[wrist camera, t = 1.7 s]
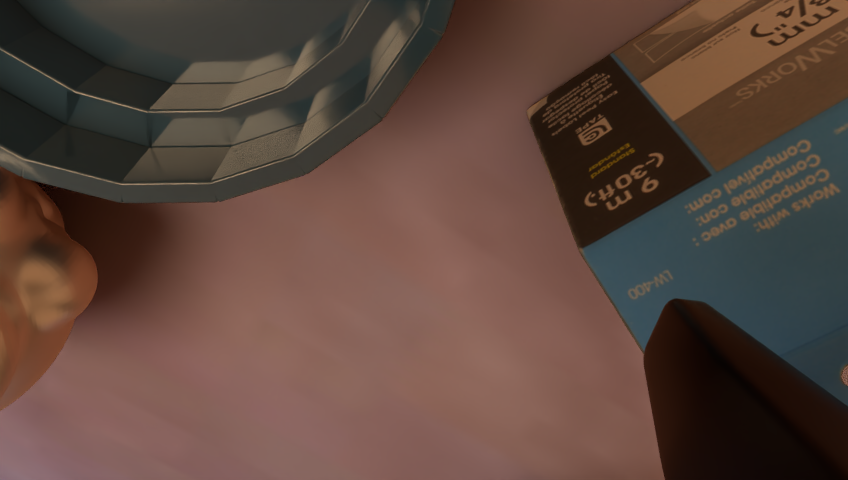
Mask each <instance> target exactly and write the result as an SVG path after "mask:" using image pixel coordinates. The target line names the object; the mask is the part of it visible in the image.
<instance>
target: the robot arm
mask: <svg viewBox="0 0 848 480" xmlns="http://www.w3.org/2000/svg"><path fill="white" fill-rule="evenodd" d="M644 369H645V374H646V380H647V386H648V391H649V397H650V403H651V408H652V414H653V419H654V425H655V431H656V436H657V442H658V447H659V453H660V458H661V463H662V468H663V473H664V477H665V480H848V406H847V405H846V404H844V403H843V402H841V401H840V400H839V399H837V398H836V397H835V396H833V395H832V394H830V393H829V392H828V391H826V390H825V389H824V388H822V387H821V386H820V385H818V384H817V383H815V382H814V381H813V380H811V379H810V378H809V377H807V376H806V375H804V374H803V373H802V372H800V371H799V370H798V369H796V368H795V367H793V366H792V365H791V364H789V363H788V362H787V361H785V360H784V359H783V358H781V357H780V356H778V355H777V354H776V353H774V352H773V351H772V350H770V349H769V348H767V347H766V346H765V345H763V344H762V343H761V342H759V341H758V340H756V339H755V338H754V337H752V336H751V335H750V334H748V333H747V332H746V331H744V330H743V329H741V328H740V327H739V326H737V325H736V324H735V323H733V322H732V321H730V320H729V319H728V318H726V317H725V316H724V315H722V314H721V313H719V312H718V311H717V310H715V309H714V308H713V307H711V306H710V305H709V304H707V303H705V302H702V301H697V300H688V299H678V298H674V299H672V300H670V301H668V302H667V303H666V304H665V306H664V308H663V310H662V312H661V314H660V316H659V318H658V321H657V323H656V325H655V327H654V329H653V331H652V334H651V336H650V338H649V340H648V342H647V345H646V347H645V351H644Z"/></svg>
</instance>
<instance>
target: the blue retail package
mask: <svg viewBox="0 0 848 480" xmlns="http://www.w3.org/2000/svg"><path fill="white" fill-rule="evenodd" d="M526 113H527V116H528V119H529V122H530V125H531V127H532V129H533V132H534V135H535V137H536V140H537V143H538V145H539V148H540V151H541V154H542V156H543V158H544V161H545V164H546V166H547V169H548V171H549V174H550V177H551V180H552V183H553V185H554V187H555V189H556V192H557V195H558V198H559V200H560V203H561V205H562V208H563V211H564V214H565V216H566V219H567V222H568V224H569V226H570V229H571V232H572V235H573V237H574V240H575V242H576V244H577V247H578V249H579V252H580V254H581V255H582V257H583V259H584V260H585V262H586V263H587V265H588V267H589V268H590V270H591V272H592V273H593V275H594V276H595V278H596V280H597V281H598V283H599V284H600V286H601V287H602V289H603V290H604V292H605V294H606V295H607V297H608V298H609V300H610V302H611V303H612V305H613V306H614V308H615V310H616V311H617V313H618V314H619V316H620V318H621V319H622V321H623V323H624V324H625V326H626V327H627V329H628V331H629V332H630V334H631V335H632V337H633V338H634V340H635V341H636V343H637V345H638V346H639V348H640V349H641V351H642V352H643V354H644V351H645V347H646V345H647V342H648V340H649V338H650V336H651V334H652V331H653V329H654V327H655V325H656V323H657V321H658V318H659V316H660V314H661V312H662V310H663V308H664V306H665V304H666V303H667V302H668V301H670V300H672V299H674V298H678V299H688V300H697V301H702V302H705V303H707V304H709V305H710V306H711V307H713V308H714V309H715V310H717V311H718V312H719V313H721V314H722V315H724V316H725V317H726V318H728V319H729V320H730V321H732V322H733V323H735V324H736V325H737V326H739V327H740V328H741V329H743V330H744V331H746V332H747V333H748V334H750V335H751V336H752V337H754V338H755V339H756V340H758V341H759V342H761V343H762V344H763V345H765V346H766V347H767V348H769V349H770V350H772V351H773V352H774V353H776V354H777V355H778V356H780V357H781V358H783V359H784V360H785V361H787V362H788V363H789V364H791V365H792V366H793V367H795V368H796V369H798V370H799V371H800V372H802V373H803V374H804V375H806V376H807V377H809V378H810V379H811V380H813V381H814V382H815V383H817V384H818V385H820V386H821V387H822V388H824V389H825V390H826V391H828V392H829V393H830V394H832V395H833V396H835V397H836V398H837V399H839V400H840V401H841V402H843V403H844V404H846V405H847V406H848V386H847V385H845V384H844V383H843V380H842V377H841V376H842V372H843V370H844V369H845V367H846V366H847V365H848V0H693V1H692V2H690V3H689V4H687V5H686V6H684V7H683V8H681V9H680V10H678V11H676V12H675V13H673V14H672V15H670V16H669V17H667V18H666V19H664V20H663V21H661V22H660V23H658V24H656V25H655V26H653V27H652V28H650V29H649V30H647V31H645V32H644V33H642V34H641V35H639V36H638V37H636V38H635V39H633V40H632V41H630V42H629V43H627V44H625V45H624V46H622V47H621V48H619V49H618V50H616V51H614V52H613V53H611V54H610V55H608V56H607V57H605V58H604V59H602V60H601V61H599V62H598V63H596V64H595V65H593V66H591V67H590V68H588V69H587V70H585V71H584V72H582V73H581V74H579V75H578V76H576V77H575V78H573V79H572V80H570V81H569V82H567V83H566V84H564V85H563V86H561V87H559V88H558V89H556V90H555V91H553V92H552V93H551V94H549V95H548V96H546V97H545V98H543V99H542V100H540V101H539V102H537V103H536V104H534V105H533V106H531V107H530V108H529V109H528V110H527V112H526Z"/></svg>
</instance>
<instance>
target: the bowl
mask: <svg viewBox="0 0 848 480" xmlns="http://www.w3.org/2000/svg"><path fill="white" fill-rule="evenodd" d="M455 1H456V0H0V167H2V168H4V169H6V170H8V171H10V172H12V173H14V174H16V175H18V176H22V177H23V178H24V179H28V180H32V181H36V182H40V183H44V184H48V185H52V186H56V187H60V188H64V189H68V190H71V191H75V192H79V193H83V194H87V195H91V196H95V197H99V198H103V199H107V200H111V201H115V202H119V203H197V202H218V201H219V202H221V201H224V200H227V199H230V198H234V197H237V196H240V195H243V194H246V193H250V192H253V191H256V190H259V189H262V188H265V187H269V186H272V185H275V184H278V183H281V182H285V181H288V180H291V179H294V178H297V177H300V176H304V175H305V174H308V173H310V172H311V171H313V170H314V169H315V168H317V167H318V166H319V165H321V164H322V163H324V162H325V161H326V160H328V159H329V158H331V157H332V156H333V155H335V154H336V153H338V152H339V151H340V150H342V149H343V148H345V147H346V146H347V145H349V144H350V143H351V142H353V141H354V140H356V139H357V138H358V137H360V136H361V135H363V134H364V133H365V132H367V131H368V130H370V129H371V128H372V127H374V126H375V125H377V124H378V123H379V122H381V121H382V120H383V118H384V117H385V116H386V115H387V114H388V112H389V111H390V109H391V108H392V107H393V105H394V104H395V103H396V101H397V100H398V98H399V97H400V96H401V94H402V93H403V91H404V90H405V89H406V87H407V86H408V84H409V83H410V82H411V80H412V79H413V78H414V76H415V75H416V73H417V72H418V71H419V69H420V68H421V66H422V65H423V64H424V62H425V61H426V59H427V58H428V57H429V55H430V54H431V53H432V51H433V50H434V48H435V47H436V46H437V44H438V43H439V41H440V40H441V39H442V37H443V34H444V33H445V31H446V28H447V25H448V22H449V19H450V16H451V13H452V10H453V7H454V4H455Z"/></svg>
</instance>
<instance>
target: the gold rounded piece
mask: <svg viewBox="0 0 848 480" xmlns="http://www.w3.org/2000/svg"><path fill="white" fill-rule="evenodd" d="M97 283H98V273H97V267H96V264H95V262H94V260H93V257H92V256H91V254H90V253H89V252H88V251H87V250H86V249H85V248H84V247H83V246H82V245H80V244H79V243H77V242H76V241H74V240H72V239H71V238H70V237H69V235H68V234H67V233H66V232H65V228H64V222H63V218H62V215H61V213H60V211H59V209H58V207H57V206H56V204H55V203H54V202H53V201H52V199H51V198H50V197H49V196H48V195H47V194H46V193H45V192H44V191H43V190H42V189H41V187H40V186H38V185H37V184H36V183H35V182H34V181H32V180H28V179H24V178H23V177H22V176H18V175H16V174H14V173H12V172H10V171H8V170H6V169H4V168H2V167H0V411H1V410H3V409H4V408H6V407H7V406H9V405H10V404H11V403H13V402H14V401H15V400H17V399H18V398H19V397H21V396H22V395H23V394H24V393H25V392H26V391H28V390H29V389H30V388H31V387H32V386H33V385H34V384H35V383H36V382H37V381H38V380H39V379H40V378H41V377H42V376H43V374H44V373H45V372H46V371H47V370H48V368H49V367H50V366H51V364H52V363H53V362H54V360H55V359H56V357H57V356H58V354H59V353H60V351H61V349H62V348H63V346H64V344H65V342H66V340H67V338H68V336H69V334H70V332H71V329H72V327H73V324H74V321H75V318H76V317H77V316H78V315H80V314H81V313H82V312H83V311H84V310H85V309H86V308H87V306H88V305H89V303H90V302H91V300H92V299H93V296H94V294H95V292H96V288H97Z"/></svg>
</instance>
